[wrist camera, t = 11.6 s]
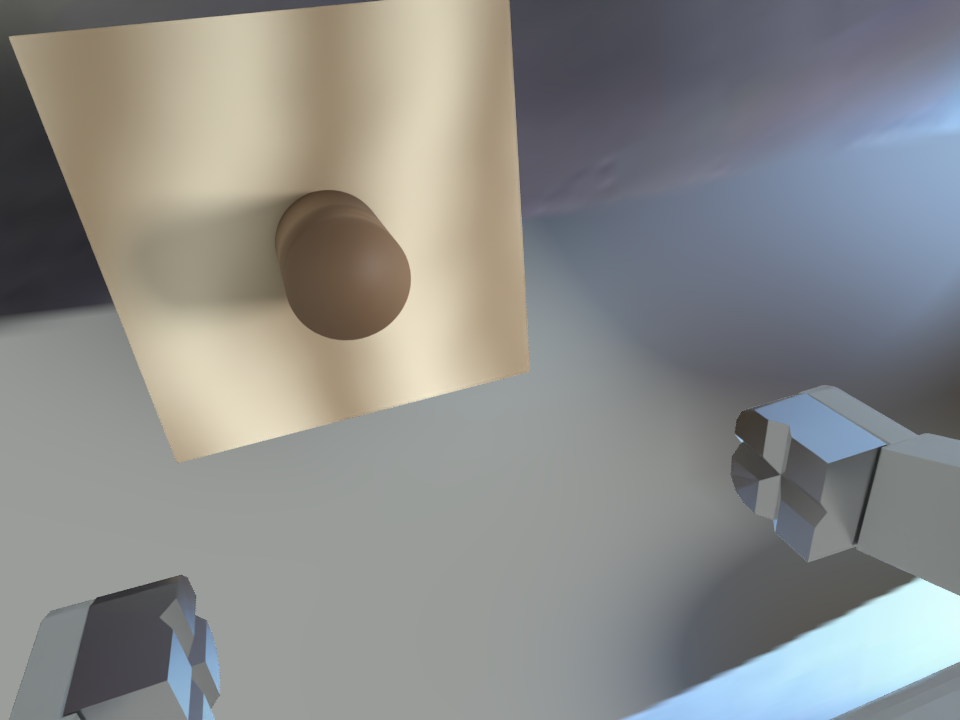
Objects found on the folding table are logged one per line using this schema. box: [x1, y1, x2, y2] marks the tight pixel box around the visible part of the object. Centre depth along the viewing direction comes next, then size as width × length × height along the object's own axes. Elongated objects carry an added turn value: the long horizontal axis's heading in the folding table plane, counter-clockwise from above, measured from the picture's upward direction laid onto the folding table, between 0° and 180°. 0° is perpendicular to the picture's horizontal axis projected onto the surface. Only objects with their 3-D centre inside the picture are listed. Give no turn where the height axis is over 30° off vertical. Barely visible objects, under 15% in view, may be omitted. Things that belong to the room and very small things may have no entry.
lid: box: [9, 0, 530, 463], centre depth 21 cm, size 14×14×5 cm
